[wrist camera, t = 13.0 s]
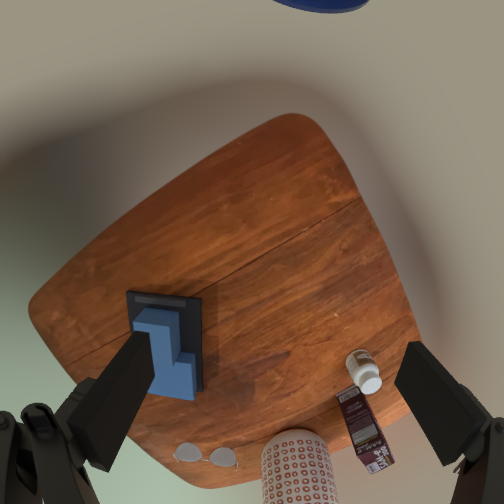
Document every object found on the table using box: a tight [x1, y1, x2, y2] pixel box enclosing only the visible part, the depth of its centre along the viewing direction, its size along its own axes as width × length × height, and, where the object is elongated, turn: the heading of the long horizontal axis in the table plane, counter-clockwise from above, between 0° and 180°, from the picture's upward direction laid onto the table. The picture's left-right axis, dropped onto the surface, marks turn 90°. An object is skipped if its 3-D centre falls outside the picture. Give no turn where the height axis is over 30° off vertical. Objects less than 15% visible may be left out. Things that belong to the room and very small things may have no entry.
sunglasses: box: [173, 442, 238, 470], centre depth 47 cm, size 14×8×5 cm, turn 85°
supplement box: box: [336, 384, 395, 474], centre depth 37 cm, size 9×5×16 cm, turn 31°
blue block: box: [133, 307, 181, 368], centre depth 38 cm, size 7×6×5 cm
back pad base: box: [126, 291, 203, 401], centre depth 40 cm, size 18×12×4 cm, turn 176°
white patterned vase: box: [261, 428, 338, 504], centre depth 33 cm, size 13×13×28 cm
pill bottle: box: [346, 349, 382, 394], centre depth 39 cm, size 4×4×8 cm
